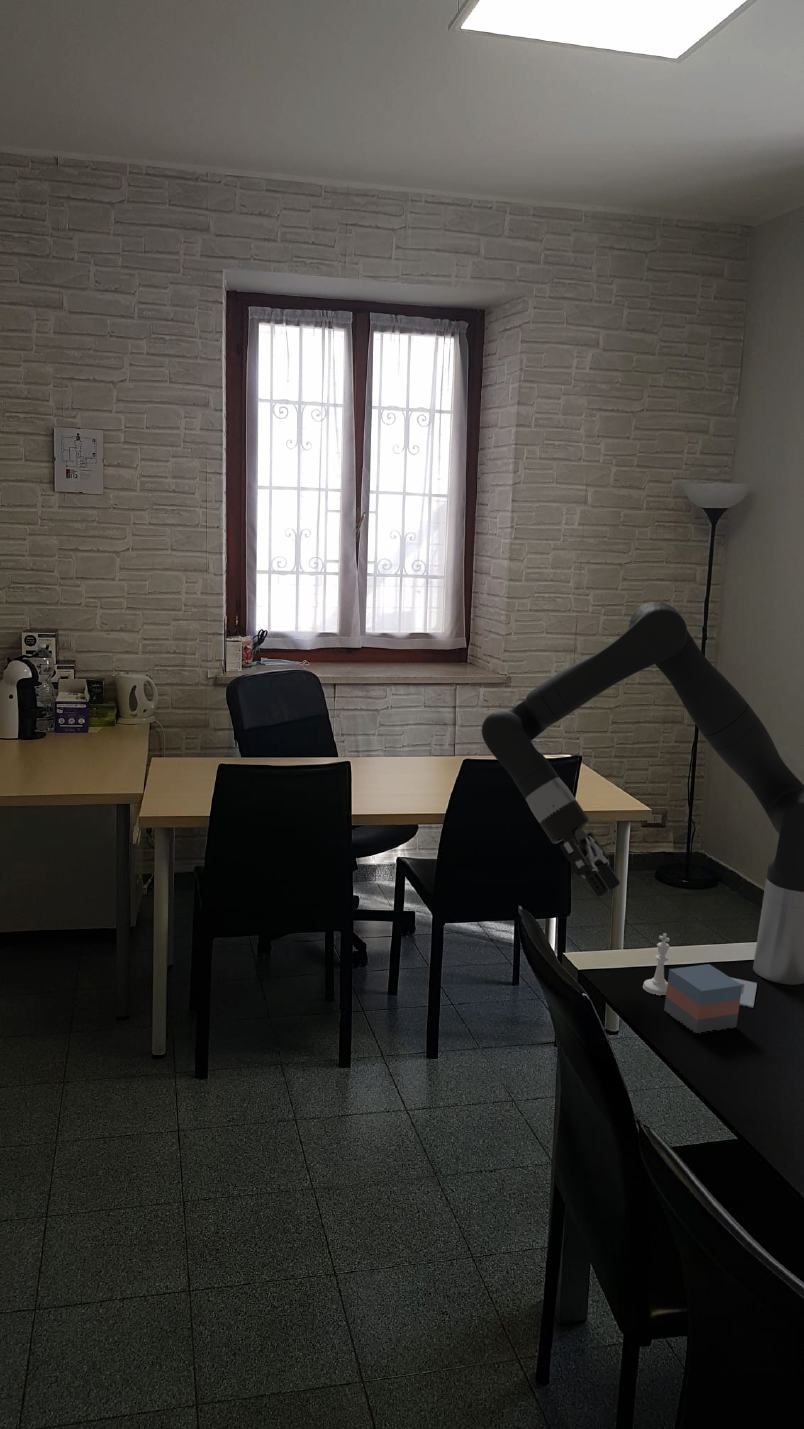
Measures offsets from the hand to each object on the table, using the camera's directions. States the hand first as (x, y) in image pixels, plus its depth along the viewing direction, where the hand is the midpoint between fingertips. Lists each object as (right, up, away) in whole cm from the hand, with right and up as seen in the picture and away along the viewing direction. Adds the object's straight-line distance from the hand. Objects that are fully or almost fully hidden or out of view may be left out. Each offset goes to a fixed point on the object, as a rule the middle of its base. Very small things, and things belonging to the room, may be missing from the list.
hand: (609, 890), depth 181 cm
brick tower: (+13, -19, -10) cm, 25 cm away
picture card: (+21, -18, +1) cm, 28 cm away
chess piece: (+8, -17, 0) cm, 19 cm away
